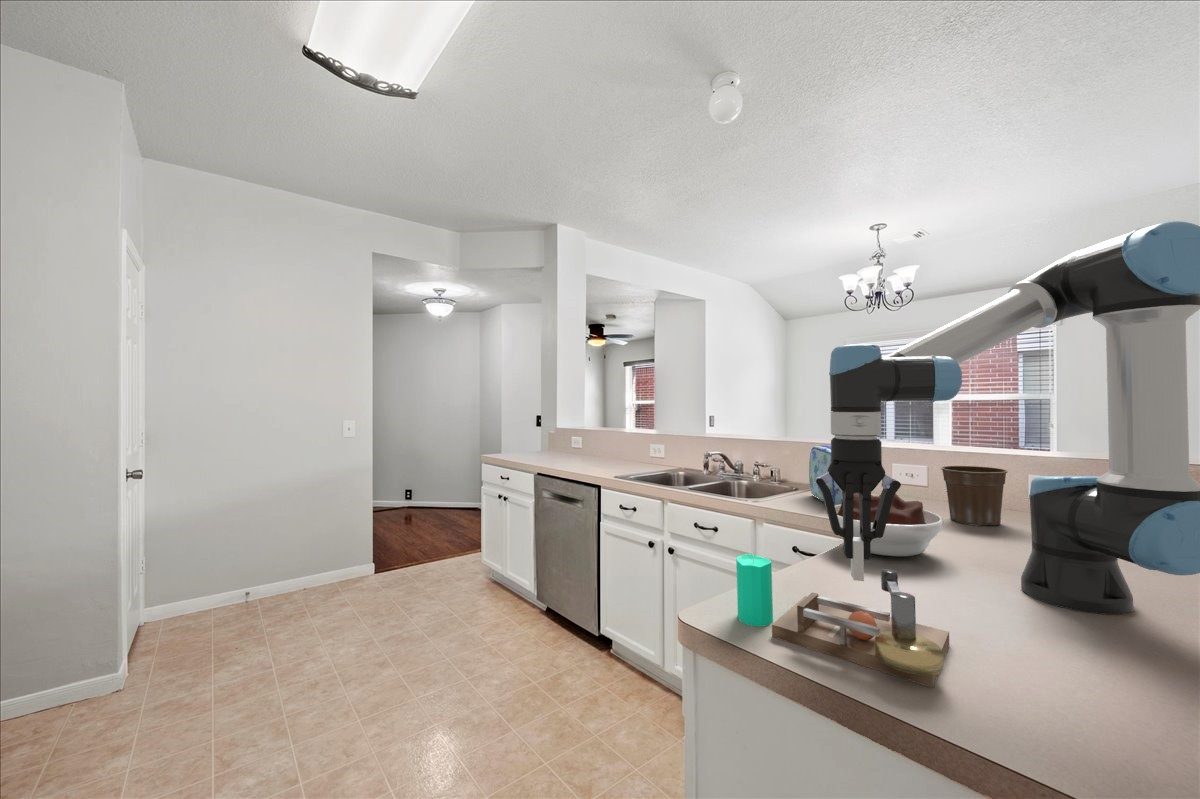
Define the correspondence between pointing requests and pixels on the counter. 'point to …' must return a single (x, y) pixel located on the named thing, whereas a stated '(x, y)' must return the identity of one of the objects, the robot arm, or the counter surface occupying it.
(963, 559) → the counter surface
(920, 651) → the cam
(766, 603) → the candle
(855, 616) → the ball
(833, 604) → the stand
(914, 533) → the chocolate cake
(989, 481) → the plant pot
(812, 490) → the lunch box
